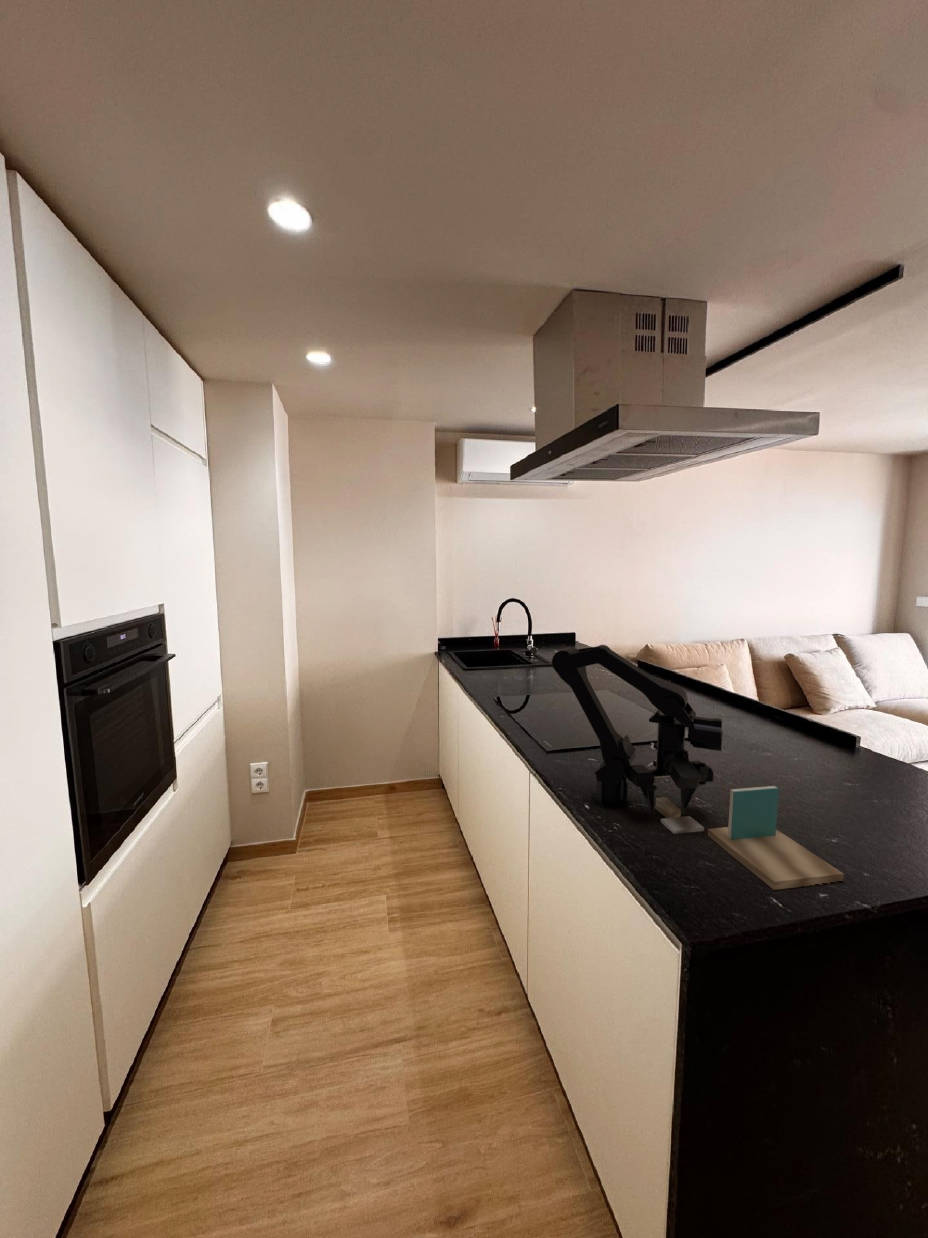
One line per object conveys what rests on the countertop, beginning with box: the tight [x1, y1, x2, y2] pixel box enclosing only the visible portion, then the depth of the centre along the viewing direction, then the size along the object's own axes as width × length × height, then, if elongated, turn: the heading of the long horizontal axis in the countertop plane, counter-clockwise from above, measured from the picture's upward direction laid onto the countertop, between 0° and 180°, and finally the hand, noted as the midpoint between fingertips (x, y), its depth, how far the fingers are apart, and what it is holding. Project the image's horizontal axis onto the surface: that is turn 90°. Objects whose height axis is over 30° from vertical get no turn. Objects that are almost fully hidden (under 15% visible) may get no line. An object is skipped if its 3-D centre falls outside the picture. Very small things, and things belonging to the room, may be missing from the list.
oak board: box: [707, 826, 844, 891], centre depth 98 cm, size 14×18×2 cm
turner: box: [654, 796, 705, 835], centre depth 112 cm, size 7×11×2 cm, turn 10°
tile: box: [727, 785, 780, 840], centre depth 102 cm, size 10×1×10 cm, turn 100°
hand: (667, 809), depth 115 cm, fingers open, 8 cm apart
